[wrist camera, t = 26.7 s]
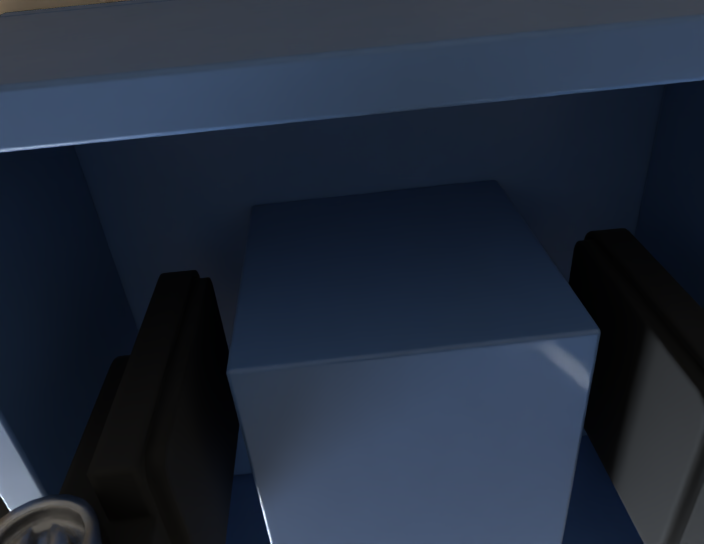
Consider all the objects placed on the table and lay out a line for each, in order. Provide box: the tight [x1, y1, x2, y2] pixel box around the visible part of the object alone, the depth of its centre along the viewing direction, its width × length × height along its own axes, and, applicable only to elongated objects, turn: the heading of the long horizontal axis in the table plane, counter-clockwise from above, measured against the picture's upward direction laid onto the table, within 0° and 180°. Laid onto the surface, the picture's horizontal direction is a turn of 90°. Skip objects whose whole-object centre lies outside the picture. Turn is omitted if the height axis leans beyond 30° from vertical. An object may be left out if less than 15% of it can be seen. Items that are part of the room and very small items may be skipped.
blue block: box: [226, 180, 601, 544], centre depth 10 cm, size 4×4×4 cm
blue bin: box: [0, 0, 704, 544], centre depth 10 cm, size 11×11×5 cm
